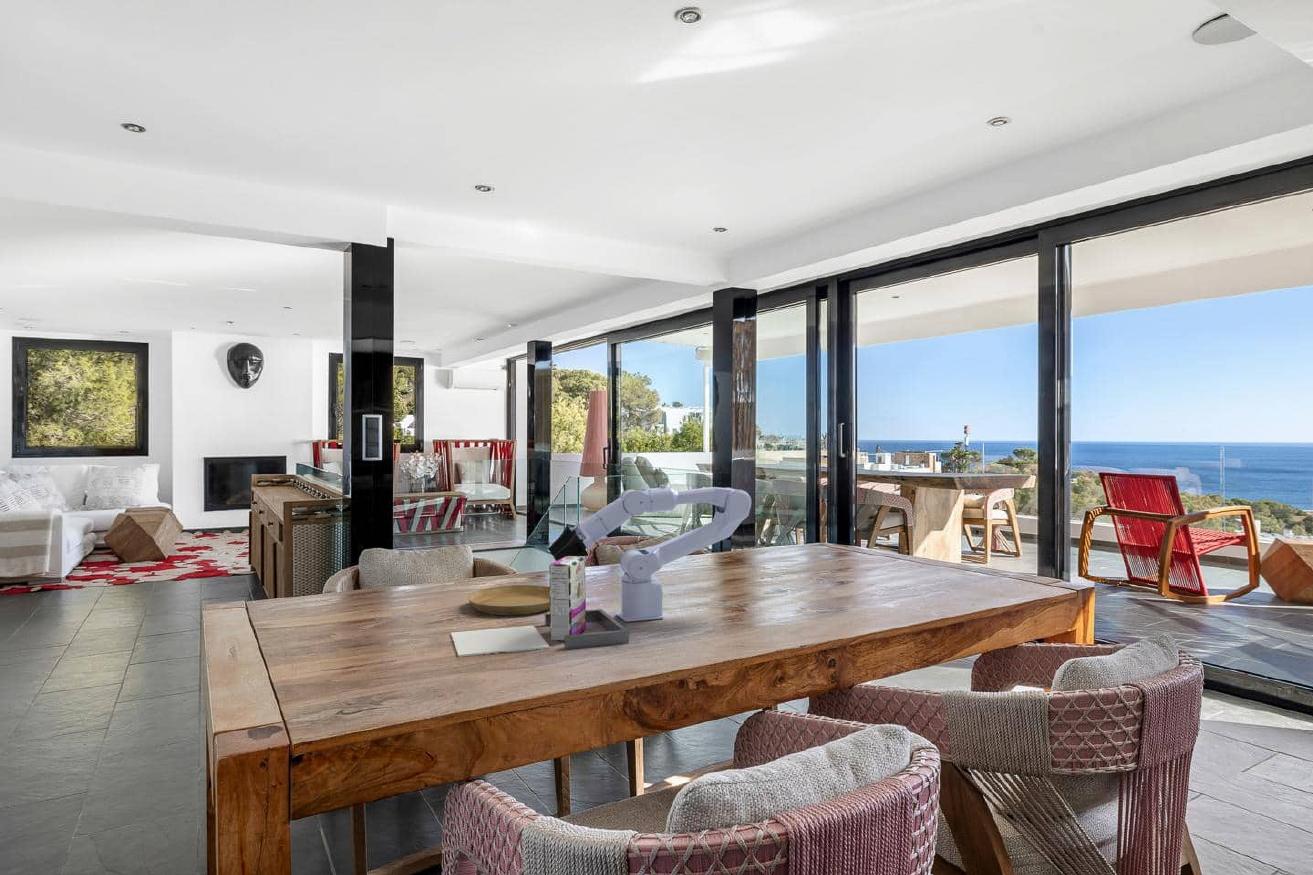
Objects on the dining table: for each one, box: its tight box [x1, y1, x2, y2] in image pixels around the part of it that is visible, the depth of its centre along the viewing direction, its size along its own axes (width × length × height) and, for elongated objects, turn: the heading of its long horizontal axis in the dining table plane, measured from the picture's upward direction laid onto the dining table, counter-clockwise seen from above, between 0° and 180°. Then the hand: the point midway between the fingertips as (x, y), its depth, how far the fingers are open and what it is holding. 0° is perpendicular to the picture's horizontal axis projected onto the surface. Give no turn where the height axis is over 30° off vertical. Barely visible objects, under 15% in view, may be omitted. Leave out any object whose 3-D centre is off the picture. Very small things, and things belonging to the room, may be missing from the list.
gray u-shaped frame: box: [544, 608, 630, 650], centre depth 165 cm, size 14×21×2 cm, turn 20°
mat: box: [450, 625, 550, 658], centre depth 159 cm, size 18×18×1 cm
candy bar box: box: [548, 556, 587, 642], centre depth 164 cm, size 11×5×16 cm, turn 168°
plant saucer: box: [467, 584, 550, 616], centre depth 192 cm, size 24×24×3 cm
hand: (553, 556), depth 175 cm, fingers open, 7 cm apart
